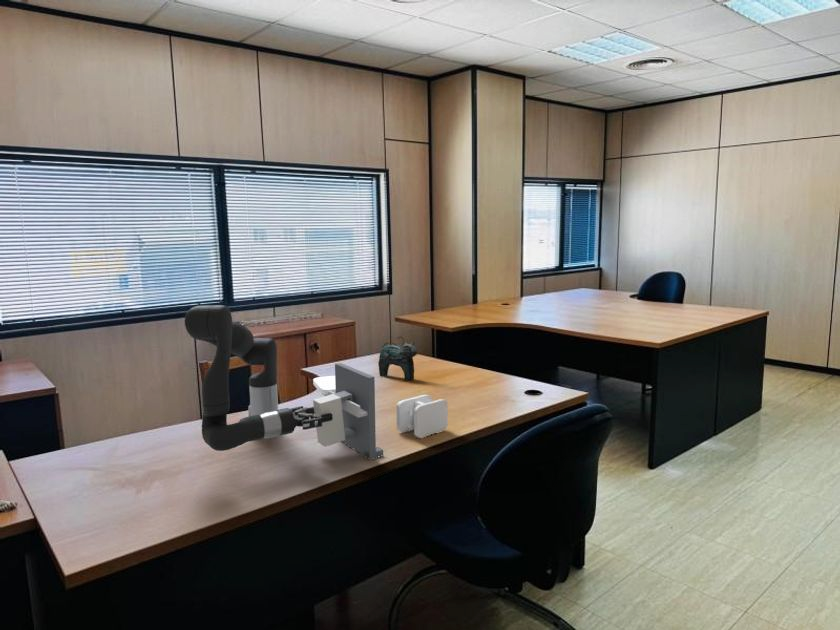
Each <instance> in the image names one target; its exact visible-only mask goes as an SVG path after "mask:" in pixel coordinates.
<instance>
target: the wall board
mask: <svg viewBox="0 0 840 630" xmlns="http://www.w3.org/2000/svg"><path fill="white" fill-rule="evenodd" d="M334 376H335V385H336V393H338V392H342V391H346V392H348V393H350V394H352V398H353V402H352V401H350V400H348V399H345V400H342V401H341V405H342V414H343V423H344V429H345V428H348V427H349V428H350V429H352V430H354V431H355V432H356V437H353V438H350V439H347V440H344V441H342V442H341V443H343V442H344V443H346V444H347V445H349V446H350V447H349V446H348V447H349V448H351V447H352V448H354V449H355V450H357V451H358V452H360V453H361V454H363V455H364V456H363V455H362V456H363V457H365V456H366V457H367V458H366V457H365V458H366V459H368V458H369V459H373V458H376V457H377V458H379V457H378V456H381V455H383V456H384V449H383V448H381V447H379V446H377V447H376V445H377V443H376V442H377V441H376V435H377V434H376V392H375V391H376V385H375V382H376V379H375V376H373V375H371V374H370V373H367V372H364V371H361V370H358V369H357V368H355V367H352V366H350V365H346V364H344V363H341V362H338V363H334ZM331 394H335V393H334V392H332V391H328V395H331ZM328 395H327V396H328ZM344 443H343V444H344ZM346 444H345V445H346ZM347 445H346V446H347ZM352 448H351V449H352ZM354 449H353V450H354ZM355 450H354V451H355ZM357 451H356V452H357ZM358 452H357V453H358ZM360 453H359V454H360ZM361 454H360V455H361ZM381 457H382V456H381ZM377 458H376V459H377ZM369 459H368V460H369ZM373 460H374V459H373Z"/></svg>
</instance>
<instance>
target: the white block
mask: <svg viewBox="0 0 840 630" xmlns="http://www.w3.org/2000/svg"><path fill="white" fill-rule="evenodd" d="M345 399H348V400H350V401H352V402H353V398H352V394H350V393H348V392H346V391H342V392H338V393H335V394H331V395H324V396H320V397H317V398H314V399H312V402H313V403H312V404H313V407H314V413H315V414H314V415H323V414H328V413H331V414H332V418H333V419H332V421H327V422H323V423H322V426H321V427H316V437H317V442H318V444H320V445H322V446H323V447H325V448H326V447H329V446H333V445H335V444H337V443H342V442H341V441H344V440H347V439H350V438H353V437H356V432H355V431H354V430H352V429H350V428H349V427H348V428H345V429H344V423H343V414H342V405H341V401H342V400H345ZM315 422H317V421H315Z"/></svg>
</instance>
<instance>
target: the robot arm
mask: <svg viewBox="0 0 840 630" xmlns="http://www.w3.org/2000/svg"><path fill="white" fill-rule="evenodd" d="M184 327H185V330H186V332H187V334H188V335H189V336H190V337H191V338H193V339H194V340H197V341H202V342H206V343H209V344H211V345H212V346H213V345H214V346H216V351H215V354H214V355H215V356H214V358H213V360H212V363H211V364H210V366H209V368H208V369H207V370H206V373H205V375H204V378H203V381H202V385H201V397H202V399H201V400H202V408H203V412H202V421H201V435H202V436H201V437H202V439H203V441H204V442H205V443H206V445H207V446H209V447H210V448H211V449H212V450H213V451H217V452H218V451H219V452H222V451H228V450H231V449H235V448H238V447H239V446H243V445H244V444H246V443H249V442H253V441H258V440H263V439H271V438H275V437H277V438H278V437H279V436H280V437H281V436H284V435H285V436H286V435H289V434H293V433H294V431H295V429H296V427H299V428H302V430H311V429H315V428H316V427H321V426H322V423H323V422H327V421H332V419H333V418H332V414H331V413H328V414H323V415H315V413H314V406H312V407H307V406H306V407H304V406H303V405H300V406H296V407H291V408H288V407H286V408H285V407H284V408H281V409H279V401H278V400H279V399H278V395H279V393H278V379H277V378H278V346H277V342H276V340H275V339H274V338H270V337H254V334H253V333H252V332H251V330H250V329H249V328H247V327H246V326H244V325H243V324H241V323H239V322H237V321H233V316H232V312H231V309H230V308H229V307H227V306H226V305H222V304H220V305H219V304H218V305H217V304H216V305H196V306H193V307H191V308H190V309H188V311H187V312H186V314H185V317H184ZM231 354H232V355H234V356H236V357H238V358H239V359H241V360H242V361H243V362H244V363H245V364H247V365H250V366H264V370H262V371H259V372H258V373H254V374H252V375H251V376H249V378H248V386H249V400H250V401H249V405H248V407H247V408H248V409H247V410H248V411H247V412H248V416H245V417H243V418H241V419H239V421H238V422H234V423H231V424H228V423H227V422H228V421H227V420H228V419H227V418H228V417H227V415H228V412H229V411H230V407H231V398H230V397H231V396H230V386H229V385H230V383H229V382H230V381H229V376H230V374H229V373H230V364H231V363H230V362H231ZM316 421H317V422H316Z"/></svg>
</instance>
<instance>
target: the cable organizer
mask: <svg viewBox="0 0 840 630" xmlns="http://www.w3.org/2000/svg"><path fill="white" fill-rule="evenodd" d="M448 405H449V404H448V401H447V400H445V399H443V398H439V399H437V400H433V399H432V396H431V395H428V394H422V395H417V396H413V397H411V398H410V397H409V398H405V399H402V400H400V401H398V402H397V404H396V429H397V431H399V432H401V433H407V432H406V431H408V432H412V431H413V432H414V433H413V434H414V436H415V437H416V438H419V439H423V438H422V437H425V436H428V435H429V436H431V434H432V435H435V434H434V433H437V432H440V431H442V432H444V431H445V430H446V429H447V427H448V415H449V414H448V407H449V406H448ZM409 430H411V431H409ZM443 430H444V431H443ZM429 436H428V437H429ZM425 438H426V437H425Z"/></svg>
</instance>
